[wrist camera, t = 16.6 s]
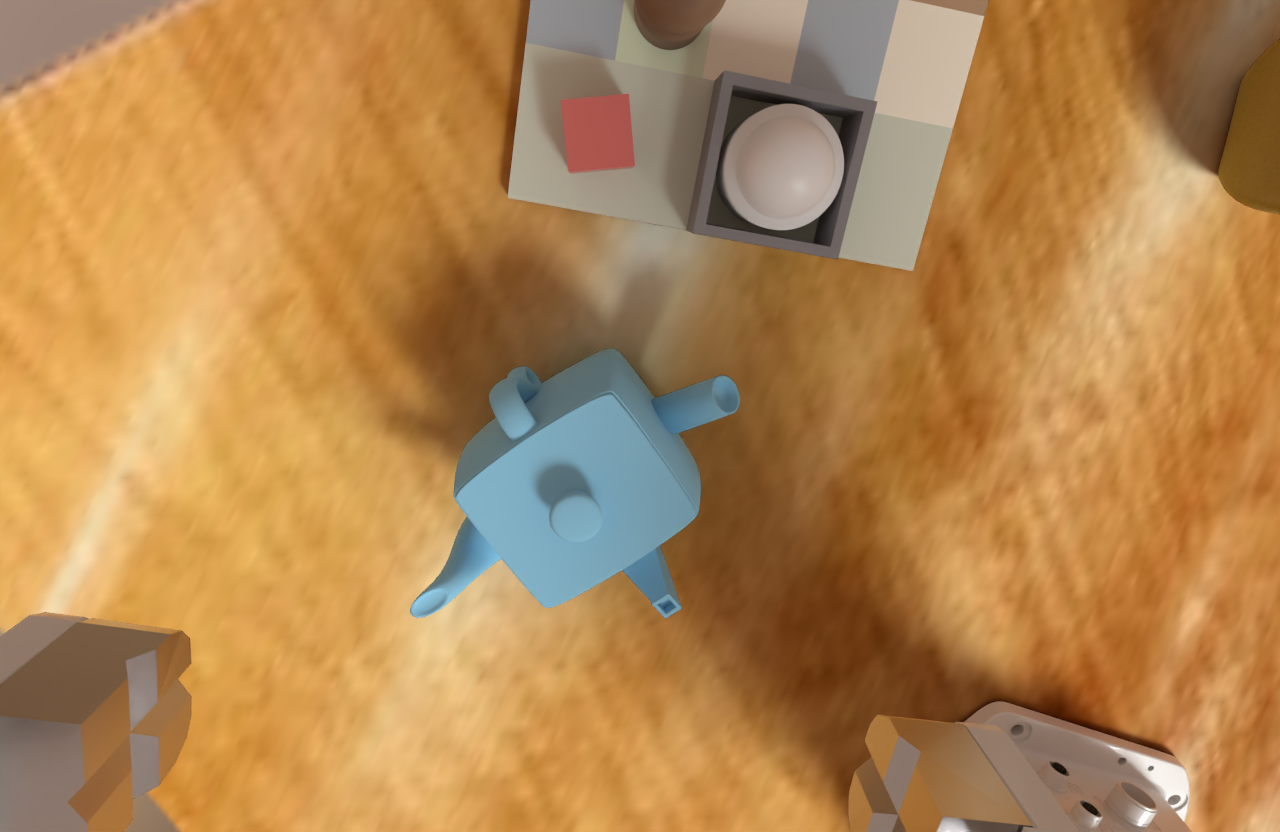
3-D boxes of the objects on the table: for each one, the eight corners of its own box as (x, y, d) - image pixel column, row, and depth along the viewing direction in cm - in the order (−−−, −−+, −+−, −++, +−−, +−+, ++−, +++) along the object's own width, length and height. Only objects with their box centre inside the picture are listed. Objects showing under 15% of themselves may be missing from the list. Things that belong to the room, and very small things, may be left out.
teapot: (652, 257, 38) (668, 280, 28) (787, 464, 41) (841, 546, 32) (382, 443, 40) (311, 522, 30) (533, 622, 44) (512, 743, 34)
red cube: (627, 101, 34) (629, 93, 32) (632, 167, 35) (635, 165, 32) (564, 107, 34) (560, 99, 32) (571, 173, 35) (568, 172, 32)
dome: (837, 122, 35) (874, 111, 30) (810, 236, 36) (842, 243, 31) (728, 101, 34) (748, 85, 29) (705, 216, 36) (721, 220, 31)
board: (980, -2, 35) (1026, -26, 31) (905, 269, 38) (938, 277, 35) (545, -97, 33) (536, -136, 29) (510, 197, 36) (498, 198, 33)
